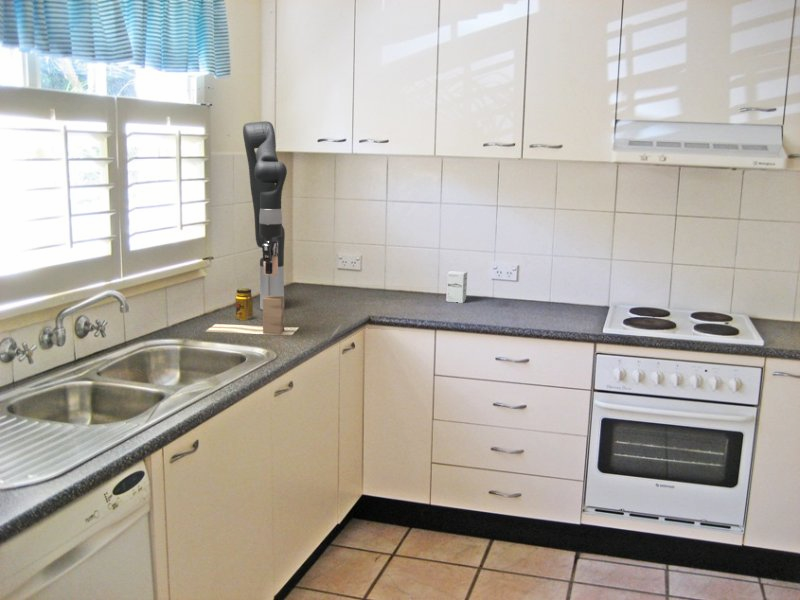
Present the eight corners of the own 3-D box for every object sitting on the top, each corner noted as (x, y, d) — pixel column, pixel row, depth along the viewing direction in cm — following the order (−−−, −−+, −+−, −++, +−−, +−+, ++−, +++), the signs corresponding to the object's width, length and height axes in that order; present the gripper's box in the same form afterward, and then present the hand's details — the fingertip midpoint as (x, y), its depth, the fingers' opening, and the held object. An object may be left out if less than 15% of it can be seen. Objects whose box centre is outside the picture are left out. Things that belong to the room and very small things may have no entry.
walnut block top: (267, 312, 291) (267, 295, 289) (284, 313, 290) (284, 296, 289) (262, 316, 285) (262, 298, 284) (280, 316, 284) (280, 299, 283)
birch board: (215, 326, 299) (215, 324, 299) (298, 330, 296) (298, 327, 296) (204, 334, 287) (204, 331, 287) (291, 338, 285) (291, 335, 285)
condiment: (231, 322, 307) (230, 289, 305) (244, 318, 315) (244, 286, 313) (247, 324, 304) (247, 291, 302) (260, 320, 312) (260, 288, 310)
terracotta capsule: (265, 273, 287) (265, 255, 286) (279, 273, 287) (279, 256, 286) (262, 275, 283) (261, 257, 282) (276, 275, 282) (276, 257, 281)
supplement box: (445, 302, 356) (446, 272, 354) (449, 299, 363) (450, 270, 361) (462, 303, 354) (463, 273, 352) (466, 300, 361) (467, 271, 359)
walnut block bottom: (267, 329, 292) (267, 312, 291) (284, 330, 291) (284, 313, 290) (263, 333, 286) (262, 316, 285) (280, 334, 285) (280, 316, 284)
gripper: (265, 220, 289) (265, 269, 292) (254, 223, 275) (254, 275, 278) (286, 220, 288) (286, 270, 291) (276, 224, 274) (276, 276, 277)
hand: (270, 272), depth 285 cm, fingers closed on terracotta capsule, 4 cm apart
